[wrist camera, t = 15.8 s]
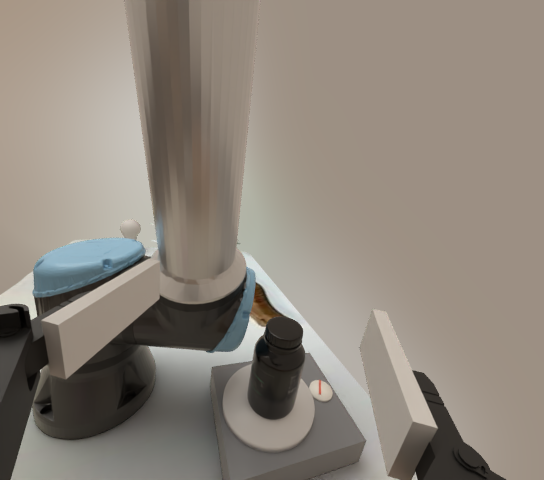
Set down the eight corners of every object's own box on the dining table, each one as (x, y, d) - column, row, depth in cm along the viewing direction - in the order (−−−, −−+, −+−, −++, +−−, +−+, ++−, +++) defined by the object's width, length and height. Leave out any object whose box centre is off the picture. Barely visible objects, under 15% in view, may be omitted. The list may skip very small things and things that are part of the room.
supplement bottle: (287, 377, 40) (301, 311, 36) (300, 419, 34) (319, 345, 30) (244, 379, 38) (254, 311, 35) (250, 424, 32) (263, 347, 28)
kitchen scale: (226, 507, 28) (231, 477, 27) (209, 386, 42) (212, 362, 41) (358, 461, 35) (368, 435, 33) (305, 369, 49) (310, 348, 47)
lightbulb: (117, 249, 88) (116, 218, 85) (134, 245, 93) (134, 216, 89) (126, 254, 85) (125, 222, 81) (144, 251, 90) (144, 220, 86)
